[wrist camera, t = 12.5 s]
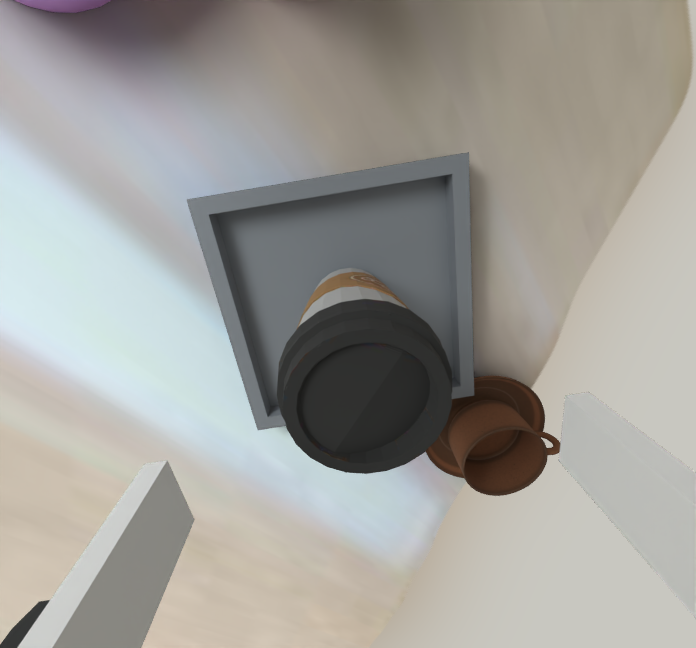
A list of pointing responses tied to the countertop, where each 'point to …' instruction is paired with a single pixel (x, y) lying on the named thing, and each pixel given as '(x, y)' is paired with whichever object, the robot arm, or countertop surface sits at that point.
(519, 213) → the countertop surface
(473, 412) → the cup and saucer
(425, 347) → the coffee cup
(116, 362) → the countertop surface
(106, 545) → the robot arm
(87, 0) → the container set
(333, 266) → the tray
